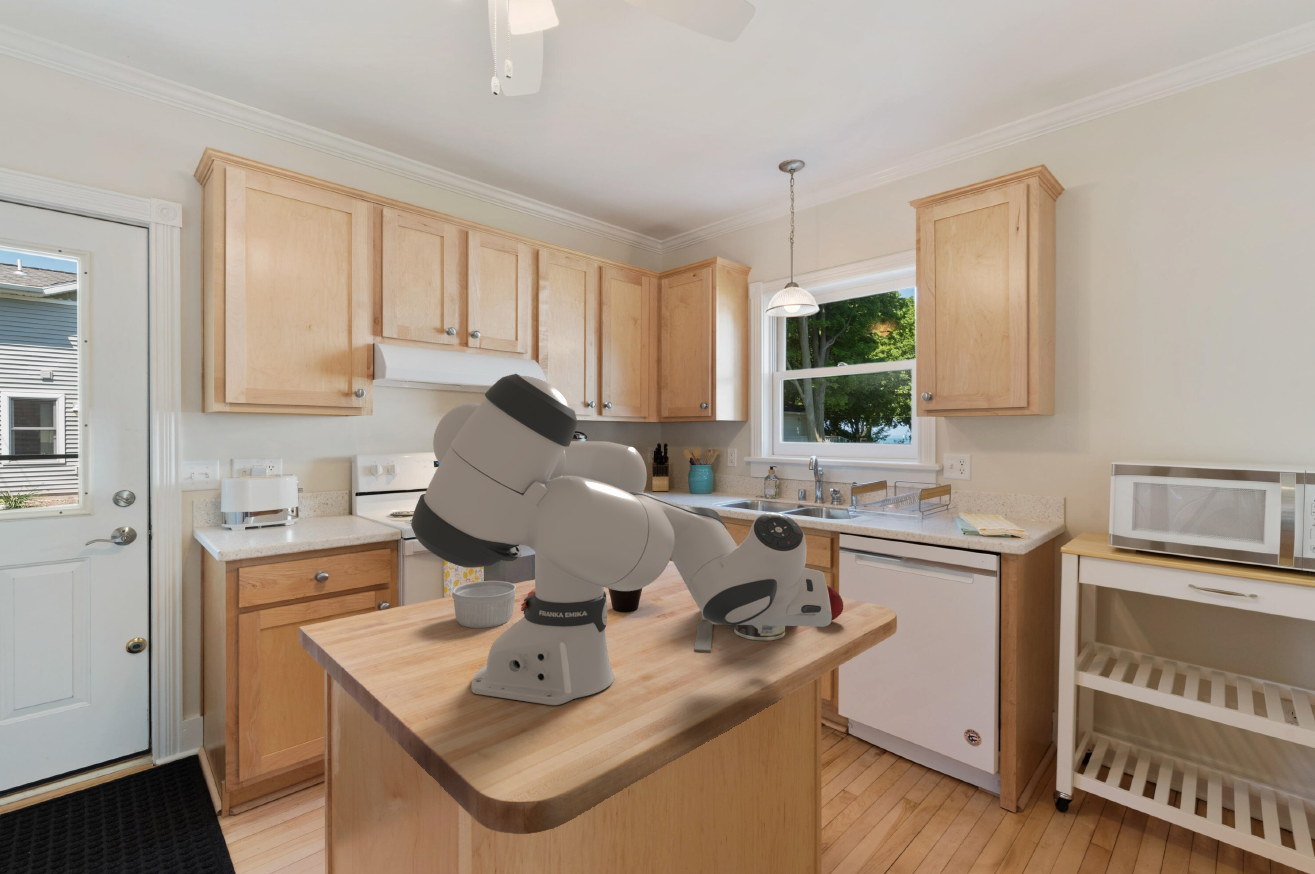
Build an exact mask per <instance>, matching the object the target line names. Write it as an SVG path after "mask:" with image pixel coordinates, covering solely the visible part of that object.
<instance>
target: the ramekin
mask: <svg viewBox="0 0 1315 874" xmlns="http://www.w3.org/2000/svg"><path fill="white" fill-rule="evenodd" d="M516 594H517V586H516V584H514V583H512V582H508V581H502V580H485V581H484V580H483V581H474V582H473V581H472V582H467V583H463V584H461V585H458V586H455V588H454V589H453V590H452V592H451V595H452V599H453V605H454V606H453V607H454V614H455V619H456V621H457V622H458V624H459V625H460V626H463V627H466V628H472V629H474V628H475V629H484V628H493V627H497V626H501V625H504V624H506V623H508V622H509V621H510V619H511V618H512V616H513V614H514V608H515V607H514V606H515V601H516Z"/></svg>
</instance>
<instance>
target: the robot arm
mask: <svg viewBox="0 0 1315 874" xmlns="http://www.w3.org/2000/svg"><path fill="white" fill-rule="evenodd" d="M484 396H485V398H484V399H483V401H481V403H472V402H471V403H465V404H460V405H458V406H456V407H454V408H452V409H450V410H449V411H448V412H447V413H445V415H444V416H442V418H441V419H440V420H439V422H438V424H437V426H436V427H435V430H434V434H433V441H432V445H433V453H434V456H435V458H436V460H437V463H438V464H439V465H438V467H437V468H436V470H435V473H434V474H433V476H432V479H431V480H430V483H429V484H428V487H427V489H426V491H425V493H423V494H421V495H420V496H419V498H418V499H417V502H416V506H415V508H414V511H413V515H412V518H411V523H410V524H411V525H410V526H411V529H412V530H413V533H414V536H415V538H416V540H417V541H418V542H419V543H420V544H421V545H422V546H423V547H424V548H425V549H427V550H428V551H429V552H430V553H431V554H433V555H434V556H436V557H437V558H438V559H441V560H442V561H445V562H447V563H450V564H452V565H456V566H458V567H463V568H468V569H471V568H472V569H473V568H484V567H488V566H489V567H490V566H493V565H495V564H498V563H499V562H502V561H503V562H514V561H516V560H518V558H520V557H521V556H522V550H521V548H520V546H525V547H528V548H530V549H532V550H533V551H534V552H535V553H534V585H535V586H534V588H533V589H531V591H529V592H528V593H527V597H525V598H524V599H523V602H522V603H521V604H520V607H521V608H520V611H521V612H523V615H524V616H523V617H522V618H520V619H519V620H518V621H516V622H515V623H514V624H512V625H511V626H510V627H509V628H508V629H506V630H505V631H504V632H503V633H502V634H500V635H499V636H498V637H497V638H496V639H495V640H494V642H493V643H492V644H491V647H490V650H489V653H488V656H487V661H486V664H485V665H483V666H482V667H481V668H480V669H479V670H478V671H477V672H476V673H475V674H474V676H473V678H472V680H471V687H470V688H471V689H470V690H471V692H472V693H473V694H476V695H480V696H481V695H483V696H487V697H489V696H490V697H493V698H494V697H495V698H502V699H508V700H514V701H515V700H517V701H523V702H529V703H535V704H541V705H549V706H560V705H562V704H565V703H568V702H570V701H573V699H578V698H582V697H586V696H587V697H588V696H590V695H595V694H596V693H600V692H601V691H603V690H605V689H607V688H608V687H609V686H611V685H612V683H613V682H614V679H615V677H614V672H613V670H612V665H611V661H610V656H609V650H608V645H607V637H606V627H607V624H608V602H607V592H606V591H605V590H604V589H605V588H606V589H608V590H613V591H619V592H631V591H632V592H634V591H638V590H641V589H643V588H645V587H647V586H648V585H650V584H652V583H653V582H654V581H655V580H657V579H658V578H659V577H660V576H661V575H662V574H663V573H664V571H665V570H666V568H667V567H668V564H669V562H670V560H671V562H672V563H673V564H674V566H675V568H676V570H677V571H678V573H679V575H680V577H681V579H682V581H683V582H684V584H685V585H686V587H687V589H688V591H689V593H690V595H691V597H692V599H693V600H694V603H695V604H696V605H697V607H698V610H699V611H700V613H701V615H702V614H703V616H704V618H705V619H707V620H709V621H710V622H711V623H713V625H725V626H727V625H728V626H735V625H753V626H754V627H756V628H757V629H758V633H772V634H775V631H776V630H777V629H779V628H780V627H782V626H785V627H821V628H822V627H827V626H829V625H831V623H832V621H831V619H832V614H831V606H830V599H829V594H828V589H827V584H828V583H827V580H826V578H825V574H824V572H823V571H821V570H818V569H812V568H808V567H806V561H807V552H808V551H807V540H806V535H805V533H804V531H803V529H802V528H801V526H800V525H799V524H798V523H797V522H796V521H795V520H794V519H793V518H791V517H789V516H788V515H784V514H783V513H778V512H766V513H763V514H760V515H759V516H757V517H756V518H755V520H753V522H752V524H751V526H750V528H749V529H750V530H749V532H748V535H746V537H745V539H744V540H743V541H742V542H741V543H740V544H739V545H738V544H737V543H736V541H735V540H734V539H733V537H732V534H730V532H729V530H728V528H727V527H726V524H725V523H724V521H723V519H722V517H721V515H720V513H718V512H717V511H716V510H714V509H713V508H709V507H704V506H684V505H681V504H678V503H676V502H672V501H670V500H667V499H664V498H662V497H659V496H656V495H653V494H649V493H646V492H645V489H646V485H647V482H648V481H647V480H648V479H647V477H648V476H647V475H648V473H647V472H648V471H647V467H646V463H645V460H644V459H643V457H642V455H641V453H640V452H639V451H638V450H637V449H636V448H635V447H633V446H631V445H630V446H629V445H625V444H622V443H616V442H611V441H601V440H600V441H597V440H595V441H593V440H587V441H585V440H576V441H575V440H574V441H573V438H574V435H575V432H576V429H577V427H578V418H577V414H576V411H575V409H574V408H572V407H571V405H570V404H569V402H568V401H567V399H566V398H565V396H564V395H563V394H562V393H561V392H560V391H559V390H558V389H557V388H556V387H555V386H553V385H551V384H550V383H548V382H546V381H545V380H543V379H540V378H536V377H533V376H526V375H520V374H519V373H513V374H509V375H505V376H502V377H500V379H498V380H497V381H496V382H495V383H493V384H492V386H491V387H490V388H489V389H488V390H487V391H486V392H485V393H484Z"/></svg>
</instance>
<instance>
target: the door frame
mask: <svg viewBox="0 0 1315 874" xmlns="http://www.w3.org/2000/svg"><path fill="white" fill-rule="evenodd" d="M713 625H714V624H713V623H711V622H710V621H709V620H707V619H705V618H704V616H703V614H702V613H701V619H700V618H699V619H698V621H697V629H696V635H695V643H694V652H699V653H700V652H701V653H704V652H705V653H711V652H712V642H713V641H712V639H713Z"/></svg>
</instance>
